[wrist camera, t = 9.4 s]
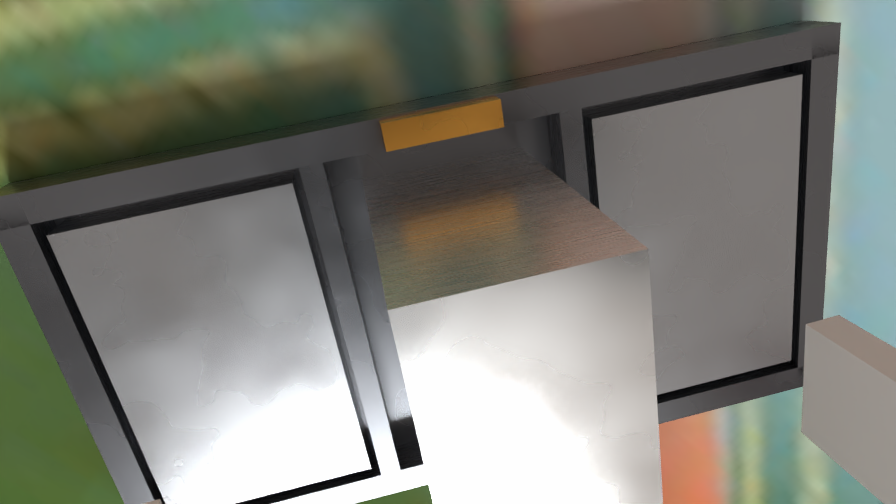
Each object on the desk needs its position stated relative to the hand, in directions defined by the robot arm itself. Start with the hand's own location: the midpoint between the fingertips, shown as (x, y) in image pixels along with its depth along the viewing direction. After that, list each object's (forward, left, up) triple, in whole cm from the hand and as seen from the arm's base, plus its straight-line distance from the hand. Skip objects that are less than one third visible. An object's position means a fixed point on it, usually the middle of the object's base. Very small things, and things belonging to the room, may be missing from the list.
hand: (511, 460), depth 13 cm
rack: (+1, 0, -8) cm, 8 cm away
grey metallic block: (+1, 0, -7) cm, 7 cm away
